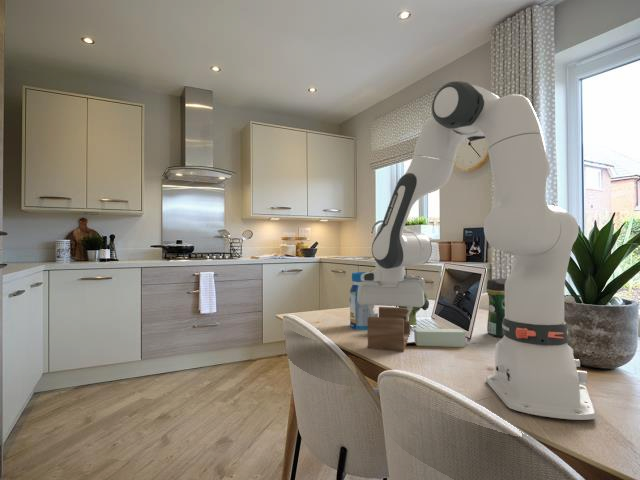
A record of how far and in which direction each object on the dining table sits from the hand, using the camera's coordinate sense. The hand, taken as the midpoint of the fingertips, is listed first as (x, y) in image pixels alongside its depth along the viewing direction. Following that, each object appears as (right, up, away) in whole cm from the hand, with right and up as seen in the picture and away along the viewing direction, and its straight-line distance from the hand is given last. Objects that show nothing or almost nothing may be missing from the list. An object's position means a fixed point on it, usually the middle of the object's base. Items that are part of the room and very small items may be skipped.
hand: (390, 320), depth 116 cm
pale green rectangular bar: (+14, -7, -3) cm, 16 cm away
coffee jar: (+39, -7, +8) cm, 40 cm away
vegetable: (+11, -7, +20) cm, 23 cm away
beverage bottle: (-7, -7, +17) cm, 20 cm away
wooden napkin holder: (0, -7, 0) cm, 7 cm away
